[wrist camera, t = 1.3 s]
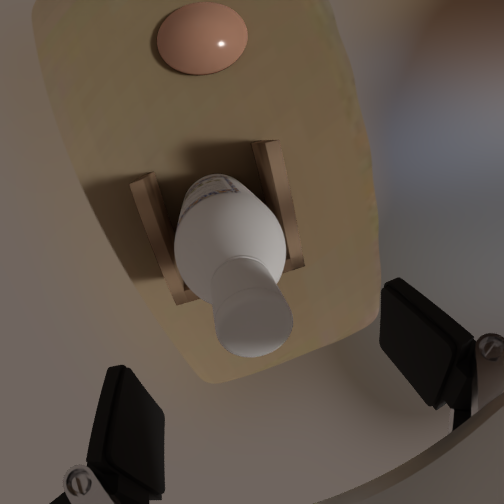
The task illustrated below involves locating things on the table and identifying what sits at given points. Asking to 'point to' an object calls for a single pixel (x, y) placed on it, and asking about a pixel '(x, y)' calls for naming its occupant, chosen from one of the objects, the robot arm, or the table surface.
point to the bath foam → (234, 263)
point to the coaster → (202, 38)
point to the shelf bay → (163, 233)
